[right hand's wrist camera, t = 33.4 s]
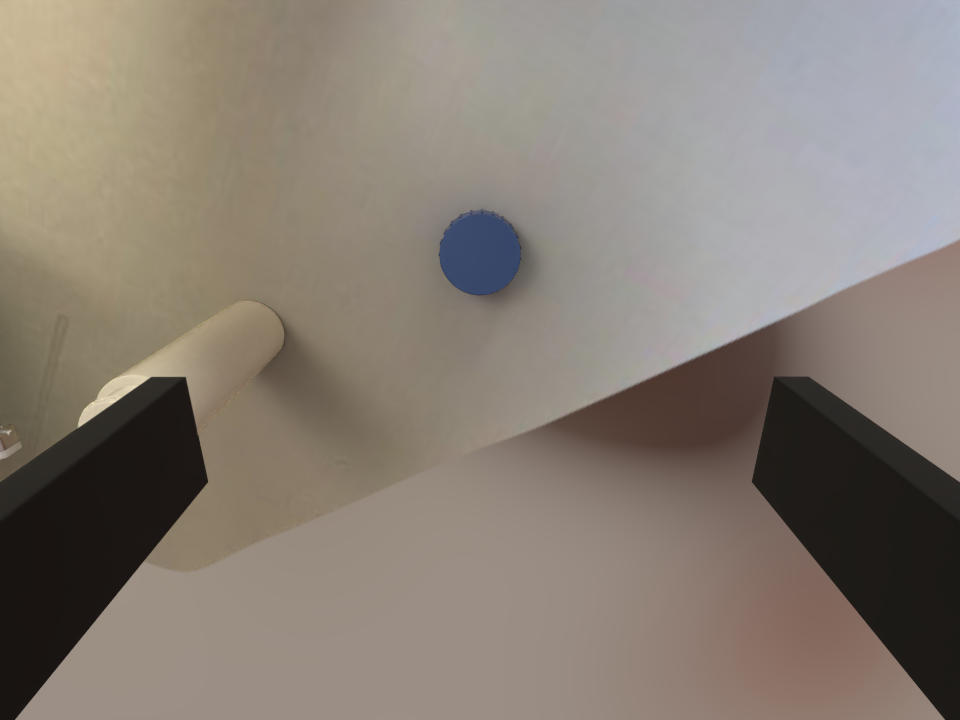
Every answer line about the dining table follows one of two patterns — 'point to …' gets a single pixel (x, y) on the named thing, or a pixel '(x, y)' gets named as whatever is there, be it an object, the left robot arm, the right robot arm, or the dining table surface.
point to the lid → (480, 252)
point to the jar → (206, 360)
